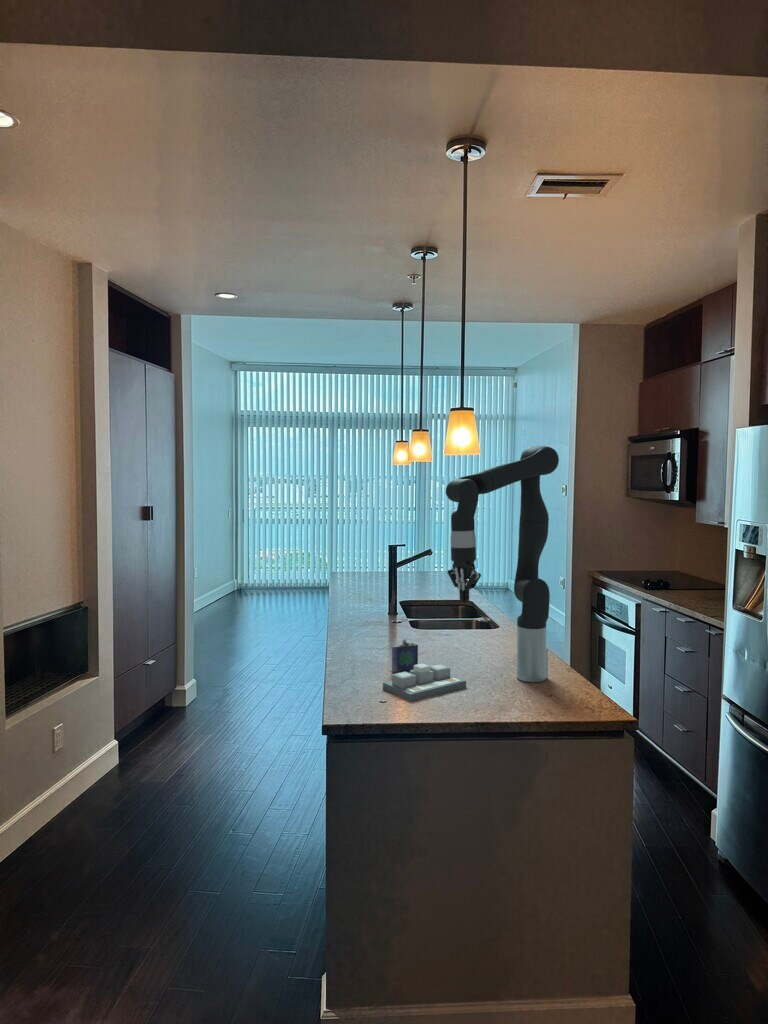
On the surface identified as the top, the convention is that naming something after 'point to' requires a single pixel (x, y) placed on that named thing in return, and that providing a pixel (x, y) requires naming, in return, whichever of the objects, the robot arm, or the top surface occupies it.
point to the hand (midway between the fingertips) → (464, 602)
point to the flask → (404, 657)
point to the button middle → (421, 668)
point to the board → (424, 684)
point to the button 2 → (438, 667)
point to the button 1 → (403, 675)
